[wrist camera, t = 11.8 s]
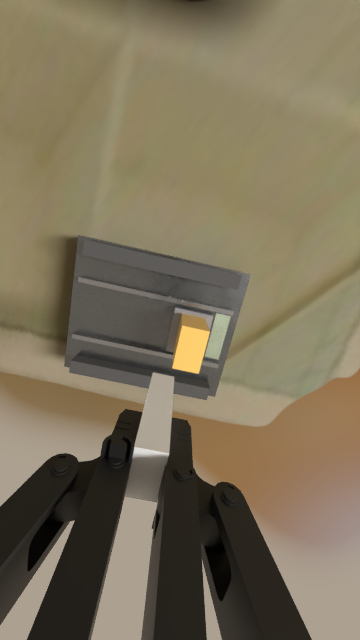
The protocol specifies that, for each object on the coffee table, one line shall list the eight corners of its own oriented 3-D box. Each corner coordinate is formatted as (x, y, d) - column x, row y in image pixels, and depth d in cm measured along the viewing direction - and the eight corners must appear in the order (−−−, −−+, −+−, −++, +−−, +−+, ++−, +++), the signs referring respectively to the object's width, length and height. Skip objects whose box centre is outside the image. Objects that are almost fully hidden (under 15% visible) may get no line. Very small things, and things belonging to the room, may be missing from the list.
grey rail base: (90, 237, 33) (74, 234, 28) (242, 272, 34) (252, 275, 29) (76, 355, 38) (60, 369, 33) (211, 382, 39) (215, 400, 34)
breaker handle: (175, 306, 31) (173, 319, 25) (212, 314, 31) (220, 329, 25) (166, 348, 33) (162, 370, 26) (201, 355, 33) (206, 379, 26)
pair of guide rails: (89, 240, 30) (84, 239, 28) (238, 274, 30) (242, 275, 29) (75, 366, 34) (69, 372, 32) (205, 392, 35) (206, 400, 33)
